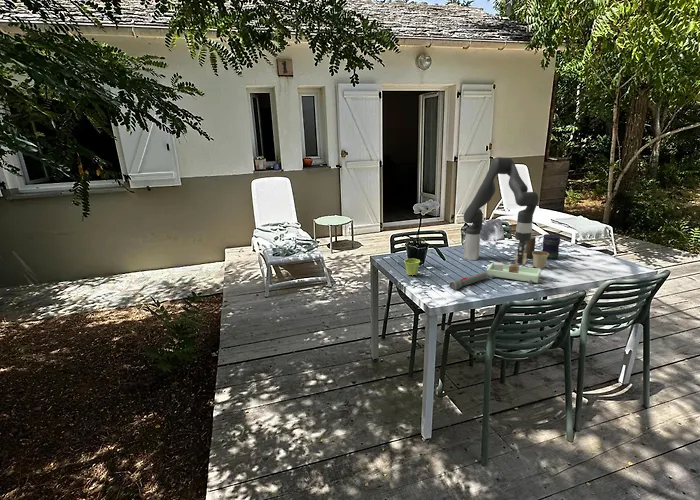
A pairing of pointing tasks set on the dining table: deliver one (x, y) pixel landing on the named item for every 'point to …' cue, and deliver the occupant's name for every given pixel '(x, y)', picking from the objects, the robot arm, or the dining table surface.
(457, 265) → the dining table surface
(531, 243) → the pillar candle
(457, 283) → the flashlight
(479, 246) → the robot arm
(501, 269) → the grey part
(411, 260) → the plant pot
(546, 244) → the storage jar
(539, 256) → the flower pot
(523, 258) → the beech part
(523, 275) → the cart
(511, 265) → the walnut part
